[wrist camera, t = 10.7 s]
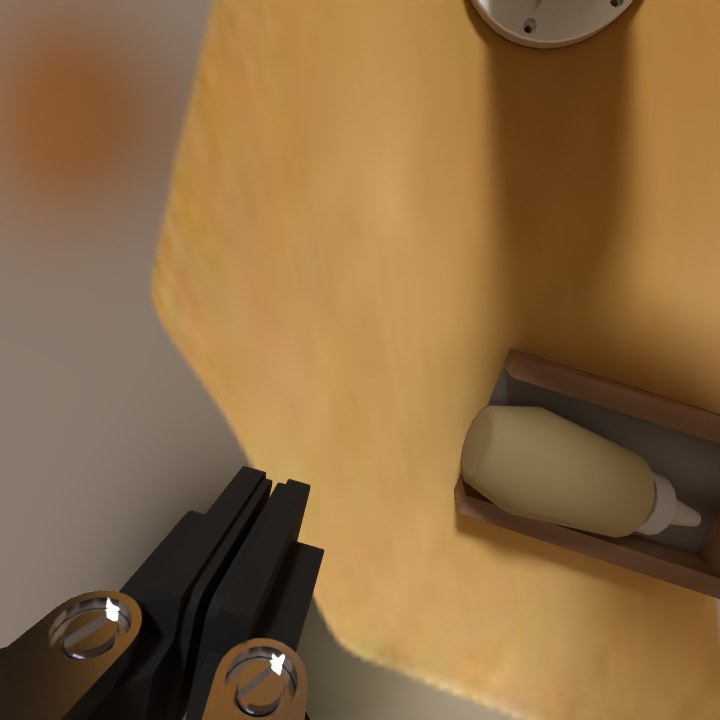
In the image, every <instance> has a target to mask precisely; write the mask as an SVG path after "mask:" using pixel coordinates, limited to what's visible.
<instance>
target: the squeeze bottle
mask: <svg viewBox="0 0 720 720" xmlns="http://www.w3.org/2000/svg"><path fill="white" fill-rule="evenodd" d="M461 474H462V476H463V479H464V481H465V482H466V483H468V484H469V485H470V486H472V487H473V488H474V489H476V490H477V491H478V492H480V493H481V494H482V495H484V496H485V497H486V498H488V499H489V500H490V501H492V502H493V503H494V504H495V505H497V506H498V507H499V508H501V509H502V510H504V511H506V512H508V513H510V514H513V515H517V516H522V517H526V518H531V519H535V520H540V521H544V522H549V523H553V524H558V525H562V526H566V527H571V528H575V529H580V530H584V531H589V532H593V533H598V534H602V535H607V536H611V537H615V538H616V537H622V536H628V535H630V534H631V533H633V532H634V531H637V532H640V533H643V534H646V535H653V534H658V533H660V532H661V531H662V530H664V529H665V528H667V527H668V525H669V524H672V525H682V526H692V527H695V526H698V525H699V524H700V522H701V516H700V514H699V513H698V512H697V511H695V510H693V509H692V508H690V507H689V506H687V505H686V504H684V503H682V502H681V501H679V500H678V499H676V494H675V490H674V488H673V486H672V484H671V483H670V481H669V480H668V479H666V478H665V477H664V476H663V475H661V474H658V473H655V472H653V471H651V469H650V467H649V465H648V463H647V461H646V460H645V459H644V458H642V457H641V456H640V455H638V454H637V453H636V452H634V451H632V450H630V449H627V448H625V447H623V446H621V445H619V444H617V443H615V442H613V441H611V440H609V439H607V438H605V437H603V436H600V435H598V434H596V433H594V432H592V431H590V430H588V429H586V428H584V427H582V426H580V425H578V424H575V423H573V422H571V421H569V420H567V419H565V418H563V417H561V416H559V415H557V414H555V413H553V412H551V411H548V410H546V409H544V408H542V407H525V406H486V407H484V408H483V409H482V410H481V411H479V413H478V414H477V416H476V417H475V418H474V420H473V421H472V423H471V426H470V428H469V430H468V432H467V434H466V438H465V441H464V444H463V448H462V455H461Z"/></svg>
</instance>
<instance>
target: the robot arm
mask: <svg viewBox="0 0 720 720" xmlns="http://www.w3.org/2000/svg"><path fill="white" fill-rule="evenodd" d="M632 1H633V0H471V2H472V4H473V6H474V7H475V9H476V10H477V12H478V13H479V15H480V16H481V18H482V19H483V20H484V21H485V22H486V23H487V24H488V25H489V26H490V27H491V28H492V29H493V30H494V31H495V32H497V33H498V34H500V35H502V36H503V37H505V38H506V39H508V40H510V41H512V42H515V43H518V44H521V45H523V46H527V47H535V48H543V49H545V48H557V47H564V46H567V45H571V44H574V43H578V42H581V41H583V40H585V39H587V38H589V37H591V36H592V35H594V34H596V33H598V32H600V31H601V30H602V29H604V28H605V27H606V26H608V25H609V24H610V23H612V22H613V21H614V20H615V19H616V18H617V17H618V16H619V15H620V14H621V13H622V12H623V11H624V10H625V9H626V8H627V7H628V6H629V5H630V4H631V2H632ZM611 3H612V4H614V6H615V7H613V6H612V5H611ZM524 29H528V30H529V31H530V33H526V32H525V31H524ZM271 487H272V480H269V479H266V472H264V471H260V470H257V469H253V468H250V467H246V466H243V467H242V468H241V469H240V471H239V472H238V473H237V474H236V476H235V477H234V478H233V480H232V481H231V482H230V483H229V485H228V486H227V487H226V489H225V490H224V491H223V492H222V494H221V495H220V496H219V497H218V499H217V500H216V501H215V503H214V504H213V505H212V506H211V508H210V509H209V510H208V511H207V513H206V514H202V513H198V512H195V511H189V512H188V513H187V514H186V515H185V516H184V517H183V518H182V519H181V520H180V521H179V523H178V524H177V525H176V526H175V527H174V528H173V530H172V531H171V532H170V533H169V534H168V535H167V536H166V538H165V539H164V540H163V541H162V542H161V543H160V545H159V546H158V547H157V548H156V549H155V550H154V552H153V553H152V554H151V555H150V556H149V557H148V558H147V560H146V561H145V562H144V563H143V564H142V565H141V567H140V568H139V569H138V570H137V571H136V572H135V574H134V575H133V576H132V577H131V578H130V579H129V581H128V582H127V583H126V584H125V585H124V586H123V588H122V589H121V590H120V591H119V592H116V591H107V590H98V591H93V592H87V593H83V594H81V595H78V596H76V597H73V598H71V599H69V600H67V601H65V602H64V603H62V604H61V605H59V606H58V607H56V608H55V609H53V610H52V611H51V612H50V613H48V614H47V615H46V616H45V617H43V618H42V619H41V620H40V621H39V622H37V623H36V624H35V625H33V626H32V627H31V628H30V629H28V630H27V631H26V632H25V633H23V634H22V635H21V636H20V637H18V638H17V639H16V640H15V641H13V642H12V643H11V644H10V645H9V646H7V647H5V648H1V649H0V720H183V718H184V716H185V714H186V712H187V715H186V720H310V719H309V717H308V715H307V713H306V711H305V709H306V696H307V674H306V670H305V668H304V665H303V663H302V661H301V659H300V658H299V657H298V655H297V654H296V650H297V647H298V643H299V640H300V636H301V633H302V630H303V626H304V622H305V619H306V616H307V612H308V609H309V605H310V601H311V598H312V594H313V591H314V587H315V583H316V580H317V576H318V572H319V569H320V565H321V561H322V558H323V554H324V549H320V548H317V547H314V546H310V545H307V544H303V543H300V542H297V540H298V536H299V532H300V528H301V524H302V520H303V516H304V512H305V508H306V504H307V500H308V496H309V491H310V485H308V484H305V483H302V482H298V481H295V480H291V479H288V481H287V483H286V484H283V483H278V484H277V485H276V487H275V489H274V491H273V492H272V494H271V496H270V492H271ZM269 496H270V498H269Z"/></svg>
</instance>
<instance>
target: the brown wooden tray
mask: <svg viewBox="0 0 720 720" xmlns="http://www.w3.org/2000/svg"><path fill="white" fill-rule="evenodd" d="M488 406H525V407H542V408H544V409H546V410H548V411H551V412H553V413H555V414H557V415H559V416H561V417H563V418H565V419H567V420H569V421H571V422H573V423H575V424H578V425H580V426H582V427H584V428H586V429H588V430H590V431H592V432H594V433H596V434H598V435H600V436H603V437H605V438H607V439H609V440H611V441H613V442H615V443H617V444H619V445H621V446H623V447H625V448H627V449H630V450H632V451H634V452H636V453H637V454H638V455H640V456H641V457H642V458H644V459H645V460H646V461H647V463H648V465H649V467H650V469H651V471H653V472H655V473H658V474H661V475H663V476H664V477H665V478H666V479H668V480H669V481H670V483H671V484H672V486H673V488H674V490H675V494H676V499H678V500H679V501H681V502H682V503H684V504H686V505H687V506H689V507H690V508H692V509H693V510H695V511H697V512H698V513H699V514H700V516H701V522H700V524H699V525H698V526H695V527H692V526H682V525H672V524H669V525H668V527H667V528H665V529H664V530H662V531H661V532H660V533H658V534H653V535H646V534H643V533H640V532H637V531H634V532H633V533H631V534H630V535H628V536H622V537H616V538H615V537H611V536H607V535H602V534H598V533H593V532H589V531H584V530H580V529H575V528H571V527H566V526H562V525H558V524H553V523H549V522H544V521H540V520H535V519H531V518H526V517H522V516H517V515H513V514H510V513H508V512H506V511H504V510H502V509H501V508H499V507H498V506H497V505H495V504H494V503H493V502H492V501H490V500H489V499H488V498H486V497H485V496H484V495H482V494H481V493H480V492H478V491H477V490H476V489H474V488H473V487H472V486H470V485H469V484H468V483H466V482H465V481H464V479H463V476H462V474H460V477H459V479H458V482H457V484H456V487H455V489H454V493H455V497H456V502H457V507H458V512H459V513H461V514H464V515H467V516H470V517H473V518H476V519H479V520H482V521H485V522H488V523H491V524H494V525H497V526H500V527H503V528H507V529H510V530H513V531H516V532H519V533H522V534H525V535H528V536H531V537H534V538H537V539H540V540H543V541H546V542H549V543H552V544H555V545H558V546H561V547H564V548H567V549H570V550H573V551H576V552H579V553H582V554H585V555H588V556H591V557H594V558H597V559H600V560H603V561H606V562H609V563H612V564H616V565H619V566H622V567H625V568H628V569H631V570H634V571H637V572H640V573H643V574H646V575H649V576H652V577H655V578H658V579H661V580H664V581H667V582H670V583H673V584H676V585H679V586H682V587H685V588H688V589H691V590H694V591H697V592H700V593H703V594H706V595H709V596H712V597H715V598H718V599H720V415H719V414H716V413H713V412H710V411H706V410H703V409H700V408H697V407H694V406H691V405H688V404H684V403H681V402H678V401H675V400H672V399H669V398H665V397H662V396H659V395H656V394H653V393H650V392H646V391H643V390H640V389H637V388H634V387H631V386H628V385H624V384H621V383H618V382H615V381H612V380H609V379H605V378H602V377H599V376H596V375H593V374H590V373H587V372H583V371H580V370H577V369H574V368H571V367H568V366H564V365H561V364H558V363H555V362H552V361H549V360H546V359H542V358H539V357H536V356H533V355H530V354H527V353H523V352H520V351H517V350H514V349H511V348H510V351H509V353H508V356H507V358H506V361H505V363H504V366H503V368H502V371H501V373H500V376H499V379H498V381H497V384H496V386H495V389H494V391H493V394H492V396H491V399H490V401H489V404H488Z"/></svg>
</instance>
